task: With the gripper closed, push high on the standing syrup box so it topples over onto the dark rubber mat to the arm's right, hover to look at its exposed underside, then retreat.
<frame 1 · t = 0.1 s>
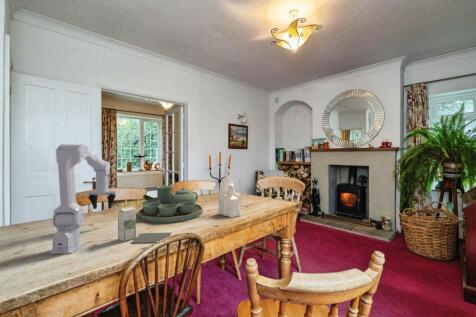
hand: (102, 208, 124), 10 cm above the table, fingers open, 7 cm apart
mat: (152, 238, 109), on the table
syrup box: (127, 239, 108), on the table
tea set: (172, 214, 151), on the table
religious statue: (233, 214, 151), on the table
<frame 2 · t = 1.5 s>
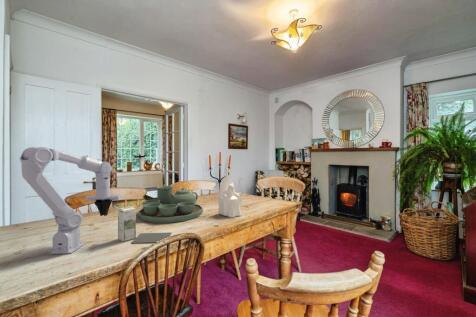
hand: (104, 215, 110), 10 cm above the table, fingers closed
nothing on the table moved.
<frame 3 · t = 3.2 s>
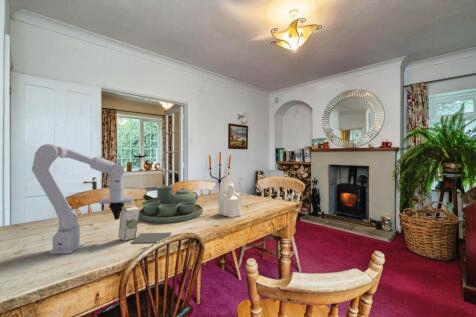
hand: (117, 218, 107), 9 cm above the table, fingers closed
syrup box: (127, 238, 108), on the table, touching gripper
everything else where it was.
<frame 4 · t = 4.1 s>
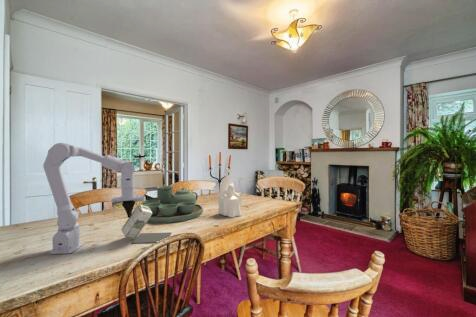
hand: (129, 216, 108), 10 cm above the table, fingers closed, pressing on syrup box
syrup box: (128, 234, 108), point 2 cm above the table, touching gripper, mat
everything else where it was.
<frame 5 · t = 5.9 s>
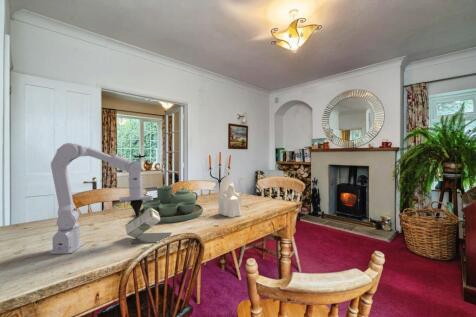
hand: (137, 216, 108), 10 cm above the table, fingers closed, pressing on syrup box
syrup box: (129, 232, 108), point 3 cm above the table, touching gripper, mat
everything else where it was.
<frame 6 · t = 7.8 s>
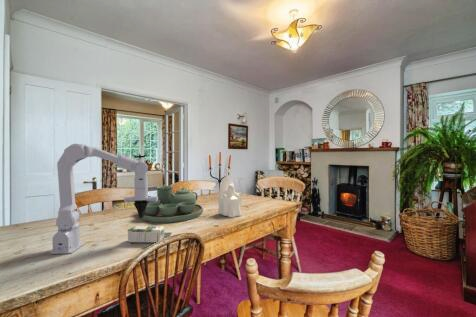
hand: (141, 217, 107), 10 cm above the table, fingers closed
syrup box: (130, 234, 105), point 3 cm above the table, touching mat
everything else where it was.
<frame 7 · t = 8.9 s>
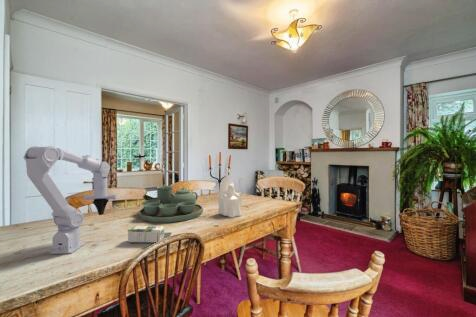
hand: (101, 214, 112), 10 cm above the table, fingers closed
nothing on the table moved.
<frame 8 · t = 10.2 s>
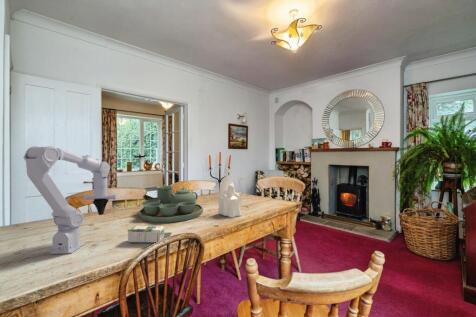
hand: (101, 214, 112), 10 cm above the table, fingers closed
nothing on the table moved.
at the end: syrup box tilted 89°; syrup box inside the target area (8.5 cm from its centre), point 3.1 cm above the table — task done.
